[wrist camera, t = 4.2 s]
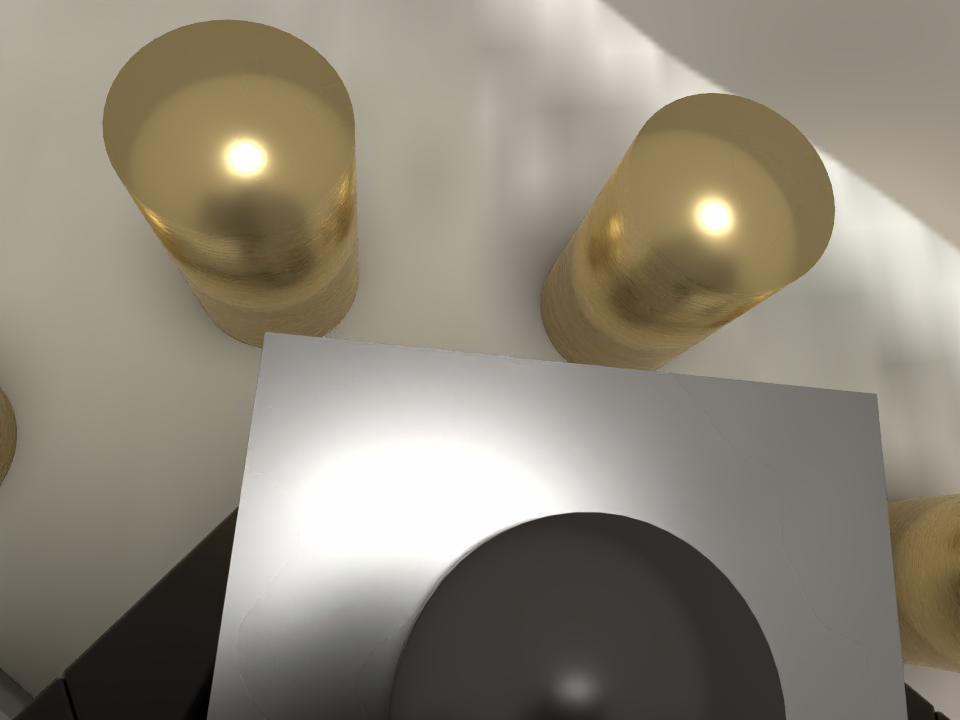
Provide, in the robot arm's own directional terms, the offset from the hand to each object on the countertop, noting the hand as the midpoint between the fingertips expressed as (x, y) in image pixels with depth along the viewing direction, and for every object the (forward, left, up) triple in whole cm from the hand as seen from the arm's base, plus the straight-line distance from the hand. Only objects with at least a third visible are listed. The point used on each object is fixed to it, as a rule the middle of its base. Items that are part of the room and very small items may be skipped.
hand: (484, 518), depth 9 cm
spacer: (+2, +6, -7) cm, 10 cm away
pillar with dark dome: (-1, -1, -7) cm, 7 cm away
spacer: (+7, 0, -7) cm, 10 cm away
